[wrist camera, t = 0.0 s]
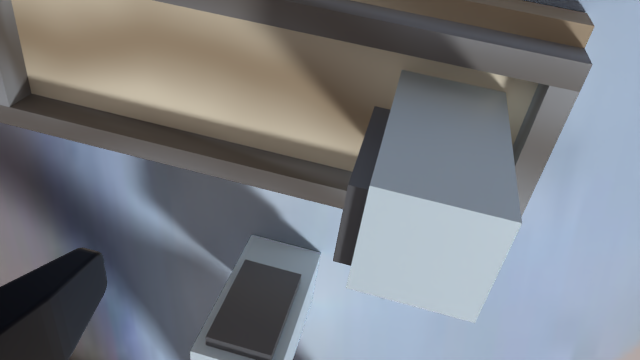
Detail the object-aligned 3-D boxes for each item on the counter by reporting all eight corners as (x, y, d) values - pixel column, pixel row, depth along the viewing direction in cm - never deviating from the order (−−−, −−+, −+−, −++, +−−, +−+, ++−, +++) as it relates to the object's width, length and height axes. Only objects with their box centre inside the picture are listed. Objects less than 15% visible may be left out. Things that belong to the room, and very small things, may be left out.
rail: (496, 220, 25) (499, 263, 23) (40, 107, 28) (-2, 135, 25) (586, 13, 19) (603, 41, 17) (-5, -104, 22) (-64, -95, 19)
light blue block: (312, 301, 31) (271, 425, 25) (248, 283, 32) (191, 401, 25) (322, 244, 28) (279, 368, 22) (252, 226, 29) (189, 342, 23)
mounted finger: (473, 177, 22) (474, 322, 16) (367, 152, 23) (327, 282, 16) (505, 92, 20) (521, 222, 13) (386, 66, 20) (347, 180, 14)
